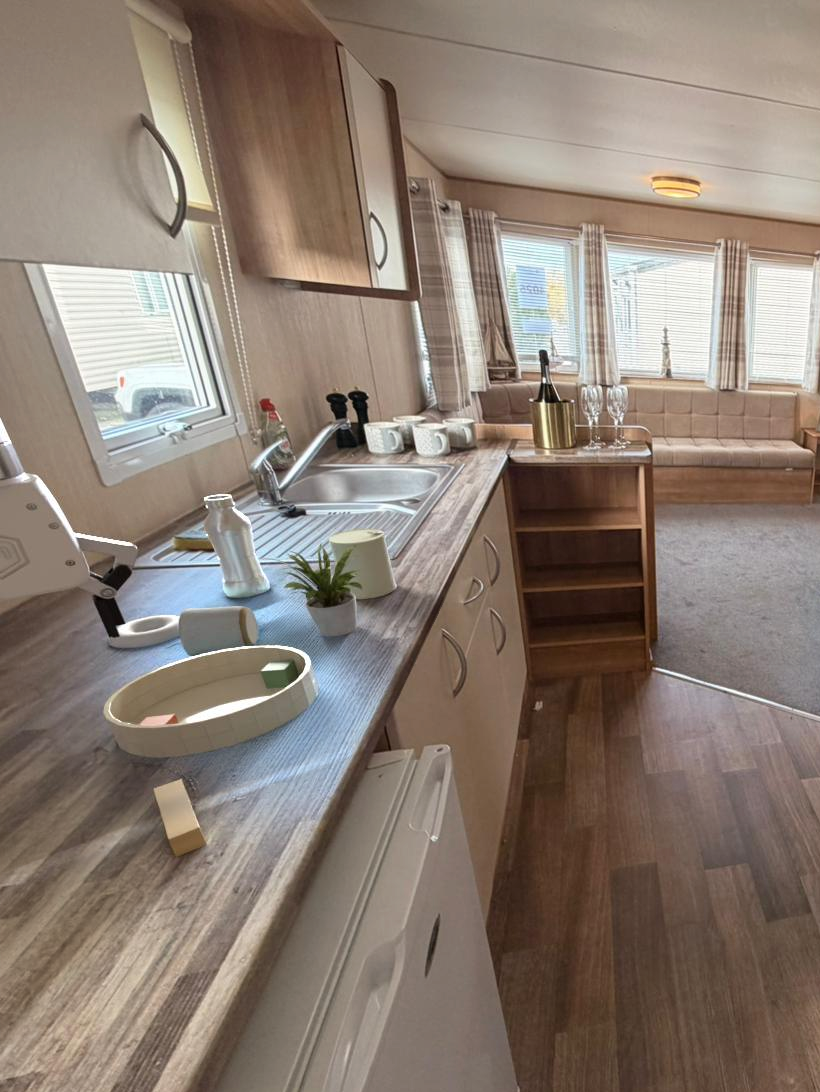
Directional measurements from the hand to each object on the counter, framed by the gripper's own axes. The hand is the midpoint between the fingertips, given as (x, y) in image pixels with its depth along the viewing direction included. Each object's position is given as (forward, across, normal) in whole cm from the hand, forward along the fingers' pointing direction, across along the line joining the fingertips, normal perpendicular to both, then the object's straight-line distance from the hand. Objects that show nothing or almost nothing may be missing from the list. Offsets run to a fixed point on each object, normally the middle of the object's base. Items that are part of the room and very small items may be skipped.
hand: (41, 649), depth 59 cm
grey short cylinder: (+22, +15, +44) cm, 51 cm away
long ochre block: (+22, +4, -3) cm, 23 cm away
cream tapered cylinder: (+22, +39, +54) cm, 70 cm away
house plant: (+22, +28, +37) cm, 52 cm away
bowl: (+22, +11, +20) cm, 32 cm away
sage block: (+22, +19, +23) cm, 37 cm away
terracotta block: (+22, +5, +17) cm, 28 cm away
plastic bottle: (+22, +22, +64) cm, 71 cm away
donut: (+22, +8, +53) cm, 58 cm away
